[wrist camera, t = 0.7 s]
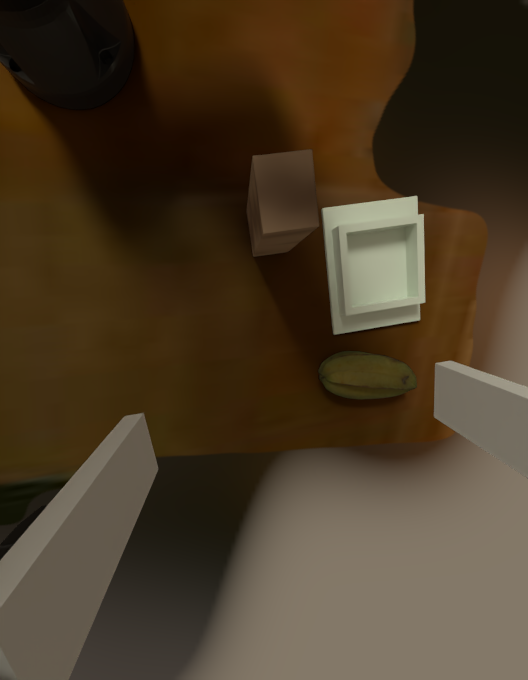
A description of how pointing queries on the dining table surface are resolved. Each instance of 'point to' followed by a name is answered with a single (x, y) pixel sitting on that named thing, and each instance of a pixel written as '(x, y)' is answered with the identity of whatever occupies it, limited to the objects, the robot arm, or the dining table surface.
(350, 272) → the holder plate
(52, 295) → the dining table surface
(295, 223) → the wooden square post
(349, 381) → the fruit
